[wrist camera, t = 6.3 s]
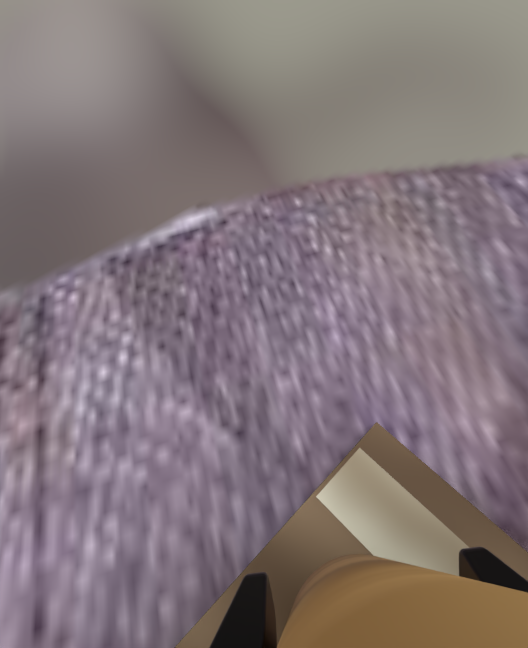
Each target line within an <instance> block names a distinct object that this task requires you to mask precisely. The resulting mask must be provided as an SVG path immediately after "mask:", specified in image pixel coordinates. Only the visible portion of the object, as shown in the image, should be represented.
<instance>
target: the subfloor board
mask: <svg viewBox="0 0 528 648" xmlns="http://www.w3.org/2000/svg"><path fill="white" fill-rule="evenodd" d="M471 547H484V548H486V549H487V550H489V551H490V552H491V553H493V554H494V555H495V556H496V557H498V558H499V559H500V560H502V561H503V562H504V563H505V564H507V565H508V566H509V567H510V568H512V569H513V570H514V571H516V572H517V573H518V574H519V575H521V576H522V577H523V578H525V579H526V580H527V581H528V552H527V551H525V550H524V549H523V548H522V547H521V546H520V545H519V544H517V543H516V542H515V541H514V540H513V539H512V538H510V537H509V536H508V535H507V534H506V533H505V532H503V531H502V530H501V529H500V528H499V527H498V526H496V525H495V524H494V523H493V522H492V521H491V520H490V519H488V518H487V517H486V516H485V515H484V514H483V513H481V512H480V511H479V510H478V509H477V508H476V507H474V506H473V505H472V504H471V503H470V502H469V501H467V500H466V499H465V498H464V497H463V496H462V495H461V494H459V493H458V492H457V491H456V490H455V489H454V488H452V487H451V486H450V485H449V484H448V483H447V482H445V481H444V480H443V479H442V478H441V477H440V476H438V475H437V474H436V473H435V472H434V471H433V470H432V469H430V468H429V467H428V466H427V465H426V464H425V463H423V462H422V461H421V460H420V459H419V458H418V457H416V456H415V455H414V454H413V453H412V452H411V451H409V450H408V449H407V448H406V447H405V446H404V445H403V444H401V443H400V442H399V441H398V440H397V439H396V438H394V437H393V436H392V435H391V434H390V433H389V432H387V431H386V430H385V429H384V428H383V427H382V426H380V425H379V424H378V423H377V422H376V423H375V424H374V426H373V427H372V428H371V429H370V430H369V431H368V432H367V433H366V435H365V436H364V437H363V438H362V439H361V440H360V441H359V442H358V443H357V445H356V446H355V447H354V448H353V449H352V450H351V451H350V452H349V454H348V455H347V456H346V457H345V458H344V459H343V460H342V461H341V462H340V464H339V465H338V466H337V467H336V468H335V469H334V470H333V471H332V473H331V474H330V475H329V476H328V477H327V478H326V479H325V480H324V481H323V483H322V484H321V485H320V486H319V487H318V488H317V489H316V490H315V491H314V493H313V494H312V495H311V496H310V497H309V498H308V499H307V500H306V502H305V503H304V504H303V505H302V506H301V507H300V508H299V509H298V510H297V512H296V513H295V514H294V515H293V516H292V517H291V518H290V519H289V521H288V522H287V523H286V524H285V525H284V526H283V527H282V528H281V529H280V531H279V532H278V533H277V534H276V535H275V536H274V537H273V538H272V540H271V541H270V542H269V543H268V544H267V545H266V546H265V547H264V548H263V550H262V551H261V552H260V553H259V554H258V555H257V556H256V557H255V559H254V560H253V561H252V562H251V563H250V564H249V565H248V566H247V567H246V569H245V570H244V571H243V572H242V573H241V574H240V575H239V576H238V577H237V579H236V580H235V581H234V582H233V583H232V584H231V585H230V586H229V588H228V589H227V590H226V591H225V592H224V593H223V594H222V595H221V596H220V598H219V599H218V600H217V601H216V602H215V603H214V604H213V605H212V607H211V608H210V609H209V610H208V611H207V612H206V613H205V614H204V615H203V617H202V618H201V619H200V620H199V621H198V622H197V623H196V624H195V626H194V627H193V628H192V629H191V630H190V631H189V632H188V633H187V634H186V636H185V637H184V638H183V639H182V640H181V641H180V642H179V643H178V645H177V646H176V647H175V648H209V647H210V645H211V643H212V641H213V639H214V637H215V635H216V633H217V630H218V628H219V626H220V624H221V622H222V620H223V618H224V616H225V614H226V612H227V610H228V608H229V606H230V604H231V602H232V600H233V598H234V596H235V594H236V592H237V590H238V588H239V585H240V583H241V581H242V579H243V578H244V576H245V575H247V574H251V573H259V572H265V573H267V575H268V577H269V582H270V587H271V592H272V597H273V602H274V608H275V617H276V632H277V646H278V643H279V640H280V638H281V635H282V633H283V630H284V627H285V625H286V622H287V619H288V617H289V614H290V612H291V609H292V606H293V604H294V601H295V599H296V596H297V594H298V592H299V591H300V589H301V587H302V585H303V584H304V583H305V581H306V580H307V579H308V577H309V576H310V575H311V574H312V573H313V572H314V571H315V570H316V569H318V568H319V567H320V566H322V565H323V564H325V563H326V562H328V561H330V560H332V559H335V558H337V557H340V556H344V555H349V554H367V555H373V556H377V557H381V558H385V559H389V560H394V561H398V562H402V563H406V564H410V565H415V566H419V567H423V568H427V569H431V570H435V571H440V572H444V573H448V574H452V575H456V576H459V552H460V550H461V549H463V548H471Z"/></svg>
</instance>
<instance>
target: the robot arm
mask: <svg viewBox="0 0 528 648" xmlns="http://www.w3.org/2000/svg"><path fill="white" fill-rule="evenodd" d="M459 576H460V577H465V578H469V579H473V580H477V581H481V582H486V583H490V584H494V585H498V586H502V587H506V588H511V589H515V590H519V591H523V592H527V593H528V581H527V580H526V579H525V578H523V577H522V576H521V575H519V574H518V573H517V572H516V571H514V570H513V569H512V568H510V567H509V566H508V565H507V564H505V563H504V562H503V561H502V560H500V559H499V558H498V557H496V556H495V555H494V554H493V553H491V552H490V551H489V550H487V549H486V548H484V547H471V548H463V549H461V550H460V552H459ZM209 648H277V632H276V617H275V608H274V602H273V597H272V592H271V587H270V582H269V577H268V575H267V573H265V572H259V573H251V574H247V575H245V576H244V578H243V579H242V581H241V583H240V585H239V588H238V590H237V592H236V594H235V596H234V598H233V600H232V602H231V604H230V606H229V608H228V610H227V612H226V614H225V616H224V618H223V620H222V622H221V624H220V626H219V628H218V630H217V633H216V635H215V637H214V639H213V641H212V643H211V645H210V647H209Z"/></svg>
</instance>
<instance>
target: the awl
mask: <svg viewBox="0 0 528 648" xmlns="http://www.w3.org/2000/svg"><path fill="white" fill-rule="evenodd" d="M277 648H528V593H527V592H523V591H519V590H515V589H511V588H506V587H502V586H498V585H494V584H490V583H486V582H481V581H477V580H473V579H469V578H465V577H460V576H456V575H452V574H448V573H444V572H440V571H435V570H431V569H427V568H423V567H419V566H415V565H410V564H406V563H402V562H398V561H394V560H389V559H385V558H381V557H377V556H373V555H367V554H349V555H344V556H340V557H337V558H335V559H332V560H330V561H328V562H326V563H325V564H323V565H322V566H320V567H319V568H318V569H316V570H315V571H314V572H313V573H312V574H311V575H310V576H309V577H308V579H307V580H306V581H305V583H304V584H303V585H302V587H301V589H300V591H299V592H298V594H297V596H296V599H295V601H294V604H293V606H292V609H291V612H290V614H289V617H288V619H287V622H286V625H285V627H284V630H283V633H282V635H281V638H280V640H279V643H278V646H277Z"/></svg>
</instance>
